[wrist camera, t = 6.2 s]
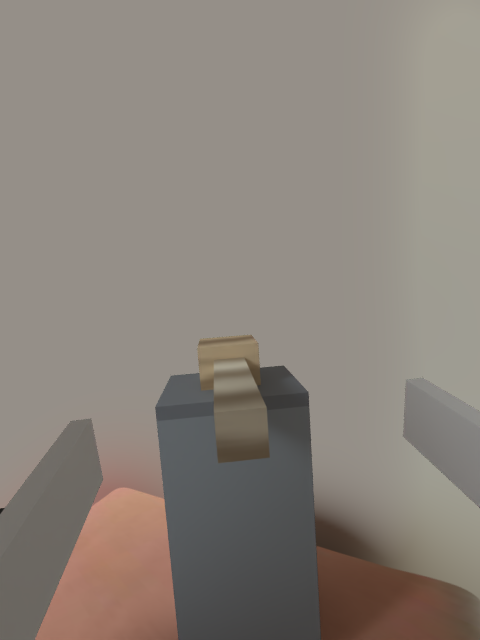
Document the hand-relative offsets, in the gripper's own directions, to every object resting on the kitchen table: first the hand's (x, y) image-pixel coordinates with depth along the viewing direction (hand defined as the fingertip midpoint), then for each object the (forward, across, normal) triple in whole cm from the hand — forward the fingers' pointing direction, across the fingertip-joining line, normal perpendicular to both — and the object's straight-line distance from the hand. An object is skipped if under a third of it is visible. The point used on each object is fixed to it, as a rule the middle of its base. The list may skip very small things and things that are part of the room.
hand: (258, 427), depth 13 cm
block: (+19, 0, -8) cm, 20 cm away
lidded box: (+21, 0, -41) cm, 46 cm away
